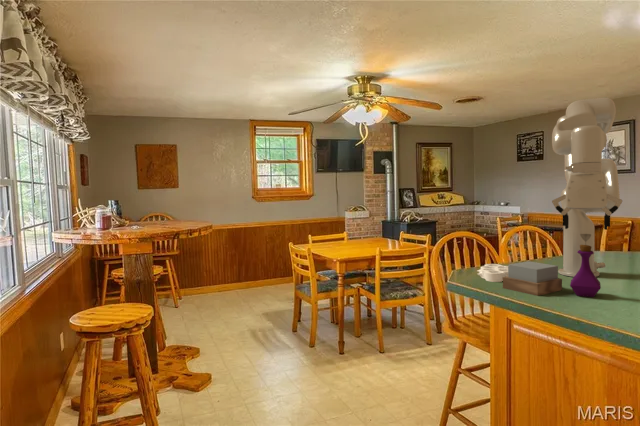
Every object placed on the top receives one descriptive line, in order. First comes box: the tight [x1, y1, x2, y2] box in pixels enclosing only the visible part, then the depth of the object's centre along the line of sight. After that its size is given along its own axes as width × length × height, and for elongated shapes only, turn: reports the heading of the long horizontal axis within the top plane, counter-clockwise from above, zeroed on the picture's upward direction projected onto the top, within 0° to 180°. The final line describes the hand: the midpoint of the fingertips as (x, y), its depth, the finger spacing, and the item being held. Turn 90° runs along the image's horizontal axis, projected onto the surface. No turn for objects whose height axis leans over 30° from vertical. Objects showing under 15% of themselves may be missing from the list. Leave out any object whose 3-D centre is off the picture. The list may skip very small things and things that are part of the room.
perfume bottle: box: [569, 234, 602, 298], centre depth 127 cm, size 8×8×18 cm
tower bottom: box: [502, 276, 563, 297], centre depth 137 cm, size 12×12×4 cm
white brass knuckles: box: [477, 263, 508, 283], centre depth 156 cm, size 3×18×15 cm
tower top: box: [507, 260, 559, 283], centre depth 137 cm, size 10×10×4 cm
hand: (585, 228), depth 126 cm, fingers open, 9 cm apart
